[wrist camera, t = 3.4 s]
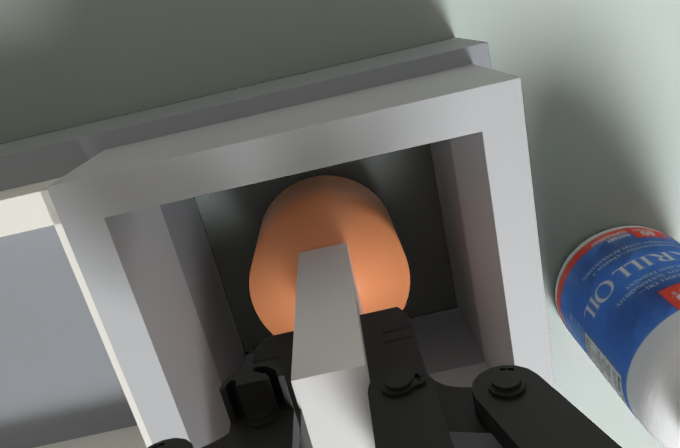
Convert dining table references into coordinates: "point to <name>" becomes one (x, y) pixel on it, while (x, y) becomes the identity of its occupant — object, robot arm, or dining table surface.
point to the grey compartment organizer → (196, 255)
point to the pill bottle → (629, 319)
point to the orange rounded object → (321, 231)
